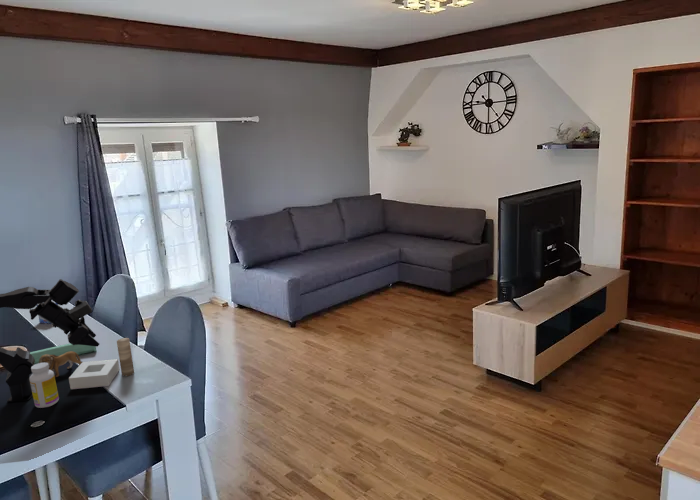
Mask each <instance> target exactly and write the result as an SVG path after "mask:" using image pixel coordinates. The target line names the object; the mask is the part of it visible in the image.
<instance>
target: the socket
mask: <svg viewBox="0 0 700 500" xmlns="http://www.w3.org/2000/svg"><path fill="white" fill-rule="evenodd" d="M81 362H82V363H81V364H80V366H79V365H78V366H79V367H76V369H75V370H74V371H73V373H71V375H70V376H69V377H68V383H69V387H70V390H77V389H89V388H98V387H109V386H110V385H111V383H112V381H114V379H115V377H116V376H117V374H118V373H119V371H121V368H120V361H119V358H118V359H117V358H115V359H107V360H105V359H104V360H90V361H81Z"/></svg>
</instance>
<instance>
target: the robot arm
mask: <svg viewBox="0 0 700 500" xmlns="http://www.w3.org/2000/svg"><path fill="white" fill-rule="evenodd" d="M79 292H80V291H79V289H78V288H77V287H76V286H75V285H74V284H72V283H71V282H68V281H66V280H63V279H62V278H60V279H59V280H57V282H56V283H55V284H54V285H53V286H52V288H51V289H37V288H35V287H34V286H26V287H22V288H18V289H14V290H11V291H10V292H9V291H8V292H6V293H5V292H4V293H0V309H2V308H3V309H5V308H6V309H7V308H9V309H10V308H11V309H14V310H15V309H16V310H29V314H30V320H31V321H33V320H34V319H35V318H36V317H37V316H38V317H39V316H40V317H42V318H43V319H45V320H47V321H48V322H50V323H51V324H50V323H49V324H50V325H52V327H53V328H58V329H60V330H61V331H62V332H63V334H64V335H66V336H67V341H68V344H69V343H71V344H72V345H88V346H96V348H98V347H99V346H100V342H98V340H97V339H95V337H97V334H96V333H95V332H94V331H93V330H92V329H91V328H90V327H89V326H88V324H86V320H85V319H86V318H85V316H87V315H90V314H92V313H93V309H92V307H91V306H90V304H89V302H87V300H81V299H78V300H75V301H74V304H75V305H74V306H73V308H71V309H69V308H67V307H64V308H63V307H62V306H64V305H65V306H66V305H68V304H69V303H70V302H71V300H73V298H74V297H75V296H76V295H78V293H79ZM55 303H57V304H58V305H57V304H55ZM37 304H39V305H38V306H37ZM30 352H31V351H27V350H24V349H23V348H21V347H16V349H15V350H11V349H7V348H4V347H1V346H0V365H1V367H3V368H4V369H5V371H7V376H6V379H5V383H6V384H7V385H8V387H9V393H10V397H9V398H7V400H6V402H7V403H12V402H22V401H23V402H24V401H29V400H30V399H31V398H33V394H32V389H31V385H30V380H29V378H30V376H31V375H32V374H33V373H32V371H31V367H32V366H33V365H34V362H35V360H34V357H33V356H32V355H31V354H30Z"/></svg>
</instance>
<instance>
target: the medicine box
mask: <svg viewBox="0 0 700 500" xmlns="http://www.w3.org/2000/svg"><path fill="white" fill-rule="evenodd" d="M54 303H55V302H54ZM55 304H57V303H55ZM38 305H39V304H37V305H36V307H37V306H38ZM57 305H58V304H57ZM38 320H39V323H40V324H49V325H52V324H51V323H50V322H48V321H47V320H45V319H43V318H42V317H40V316H38Z"/></svg>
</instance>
